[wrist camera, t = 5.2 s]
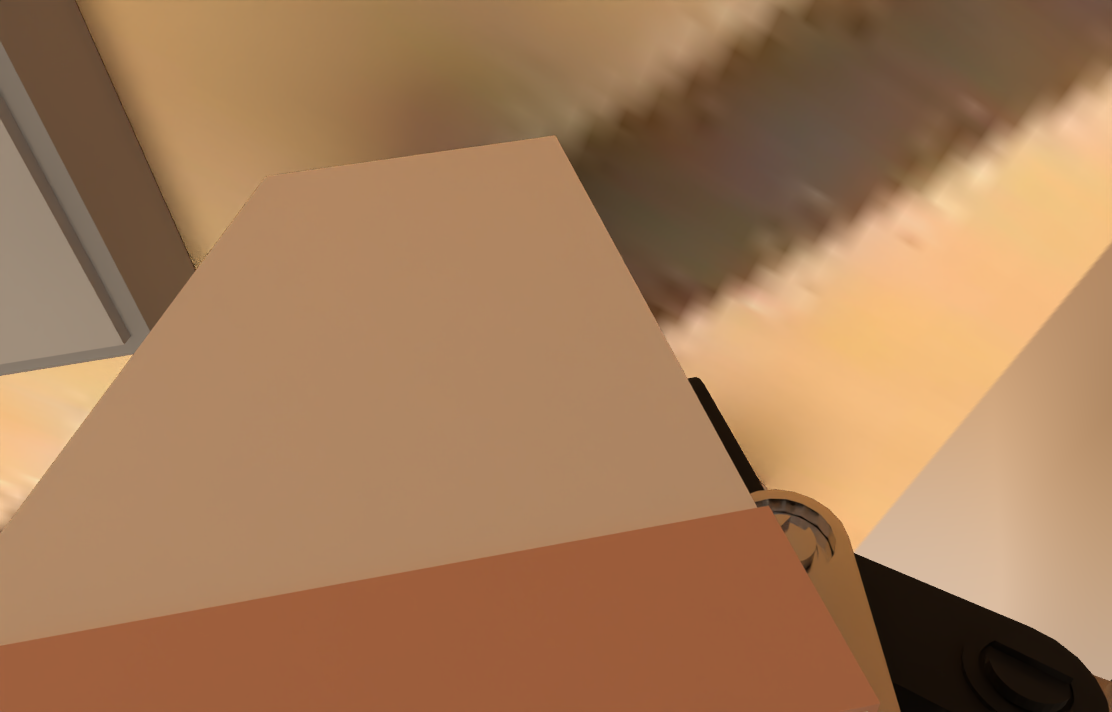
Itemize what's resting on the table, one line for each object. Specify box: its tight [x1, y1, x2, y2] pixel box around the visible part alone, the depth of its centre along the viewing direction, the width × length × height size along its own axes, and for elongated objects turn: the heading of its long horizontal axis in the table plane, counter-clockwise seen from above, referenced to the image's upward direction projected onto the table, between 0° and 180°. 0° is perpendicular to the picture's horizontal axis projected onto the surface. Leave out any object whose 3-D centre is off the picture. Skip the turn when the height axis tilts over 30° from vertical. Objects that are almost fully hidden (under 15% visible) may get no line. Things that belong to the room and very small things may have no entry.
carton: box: [0, 135, 880, 712], centre depth 8 cm, size 7×5×11 cm
